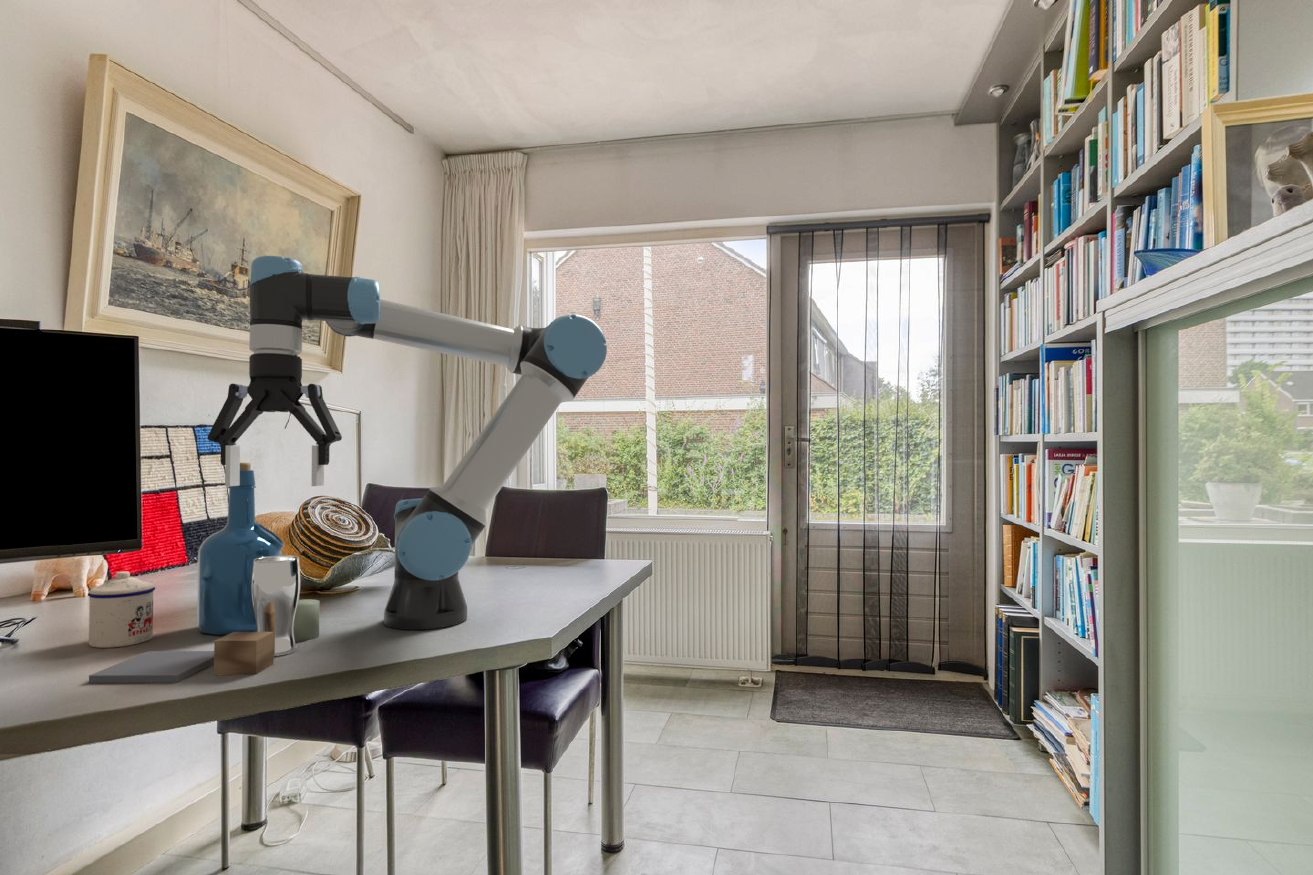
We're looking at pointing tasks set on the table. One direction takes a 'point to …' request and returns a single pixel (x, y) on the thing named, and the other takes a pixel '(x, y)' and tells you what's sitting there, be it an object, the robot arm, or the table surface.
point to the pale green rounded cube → (306, 620)
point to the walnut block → (243, 653)
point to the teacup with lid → (121, 612)
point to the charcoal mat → (155, 667)
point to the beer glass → (276, 598)
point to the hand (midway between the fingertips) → (275, 486)
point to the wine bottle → (233, 563)
